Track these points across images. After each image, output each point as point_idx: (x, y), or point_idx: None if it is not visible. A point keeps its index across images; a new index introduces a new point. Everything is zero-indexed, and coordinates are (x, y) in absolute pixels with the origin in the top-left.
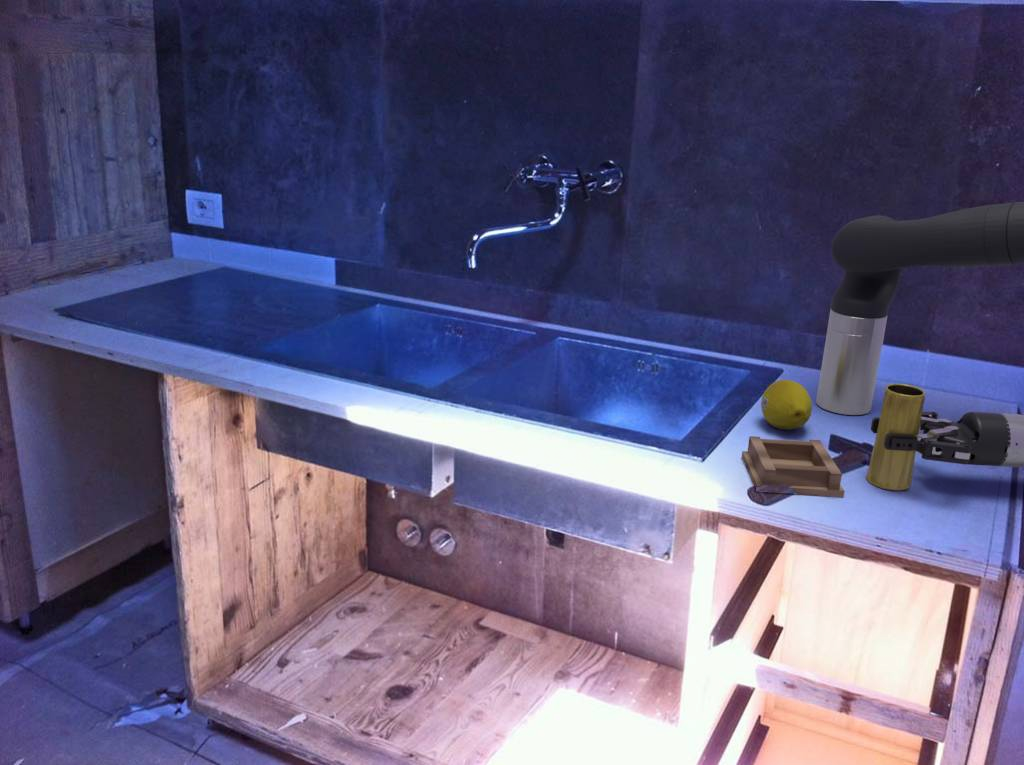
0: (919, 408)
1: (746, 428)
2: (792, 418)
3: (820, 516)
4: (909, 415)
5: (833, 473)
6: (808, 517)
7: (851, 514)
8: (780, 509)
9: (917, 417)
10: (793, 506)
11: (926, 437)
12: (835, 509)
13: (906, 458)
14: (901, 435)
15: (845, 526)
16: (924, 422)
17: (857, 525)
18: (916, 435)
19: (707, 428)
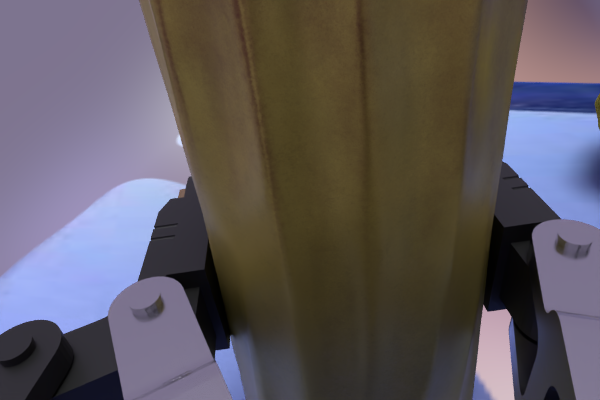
0: (165, 57)
1: (584, 125)
2: (597, 117)
3: (89, 235)
4: (171, 98)
5: (179, 193)
6: (90, 218)
7: (85, 291)
8: (135, 183)
9: (197, 156)
10: (146, 198)
11: (123, 346)
12: (121, 261)
13: (243, 380)
14: (185, 216)
15: (24, 275)
16: (559, 389)
17: (19, 299)
18: (169, 282)
19: (518, 91)
